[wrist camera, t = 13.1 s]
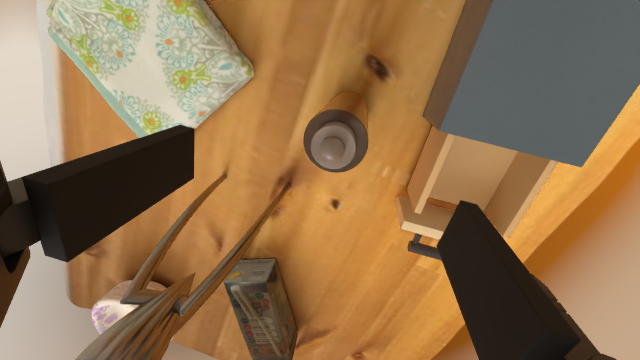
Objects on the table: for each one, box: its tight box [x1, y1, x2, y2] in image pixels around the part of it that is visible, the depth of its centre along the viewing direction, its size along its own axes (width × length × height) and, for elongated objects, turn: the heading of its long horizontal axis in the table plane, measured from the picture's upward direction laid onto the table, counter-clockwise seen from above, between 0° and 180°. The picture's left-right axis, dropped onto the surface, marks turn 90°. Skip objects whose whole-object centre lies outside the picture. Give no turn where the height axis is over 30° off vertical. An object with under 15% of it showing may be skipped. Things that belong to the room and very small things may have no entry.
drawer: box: [396, 126, 558, 260], centre depth 32 cm, size 20×12×7 cm, turn 167°
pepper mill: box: [304, 91, 368, 172], centre depth 27 cm, size 5×5×18 cm
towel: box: [47, 0, 255, 138], centre depth 33 cm, size 18×21×5 cm
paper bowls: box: [92, 280, 177, 342], centre depth 53 cm, size 15×15×8 cm
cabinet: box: [423, 0, 640, 167], centre depth 26 cm, size 17×14×9 cm
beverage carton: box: [224, 258, 298, 360], centre depth 48 cm, size 8×19×7 cm, turn 10°
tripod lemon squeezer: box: [75, 175, 291, 360], centre depth 29 cm, size 10×11×30 cm
